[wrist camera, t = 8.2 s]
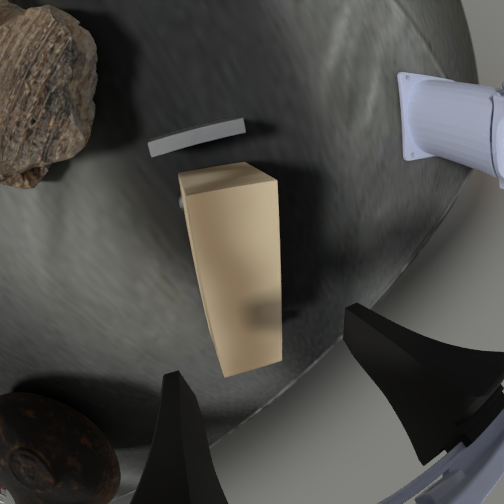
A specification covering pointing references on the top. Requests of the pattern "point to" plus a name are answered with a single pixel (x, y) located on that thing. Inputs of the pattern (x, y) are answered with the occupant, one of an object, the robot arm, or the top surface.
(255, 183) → the oak block
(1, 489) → the pill bottle
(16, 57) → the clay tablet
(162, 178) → the top surface
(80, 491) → the glass bottle
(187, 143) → the grey blocks and balls
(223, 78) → the top surface
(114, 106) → the top surface
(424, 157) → the robot arm
